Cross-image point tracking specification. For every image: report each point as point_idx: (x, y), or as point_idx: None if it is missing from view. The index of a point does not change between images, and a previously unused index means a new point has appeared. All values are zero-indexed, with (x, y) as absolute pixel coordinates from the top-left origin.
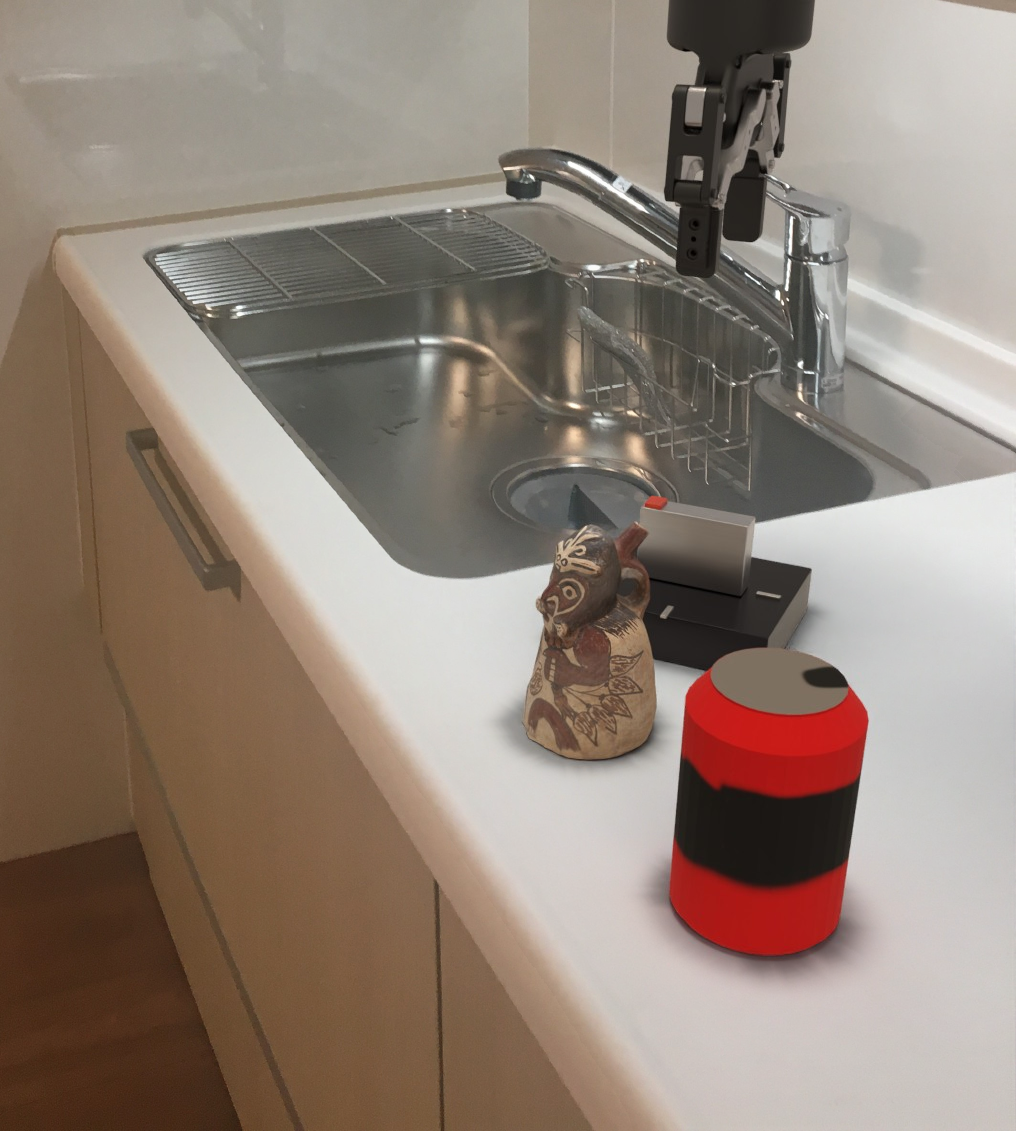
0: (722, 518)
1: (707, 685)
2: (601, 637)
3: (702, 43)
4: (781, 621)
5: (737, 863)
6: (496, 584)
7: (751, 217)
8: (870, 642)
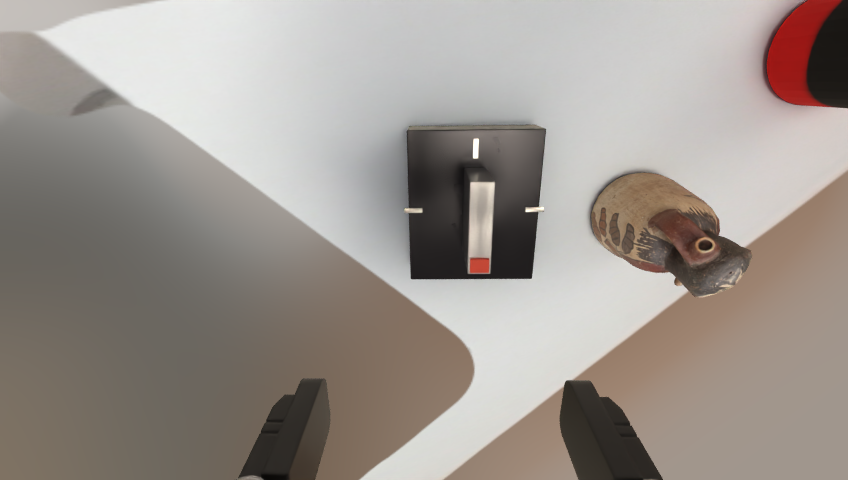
0: (486, 206)
1: None
2: (718, 224)
3: None
4: (504, 128)
5: None
6: (466, 328)
7: (314, 419)
8: (437, 66)
